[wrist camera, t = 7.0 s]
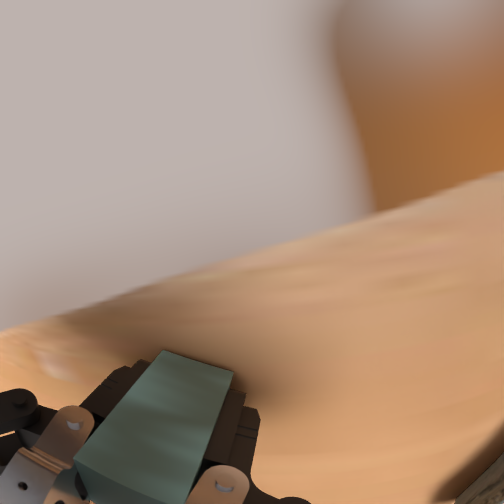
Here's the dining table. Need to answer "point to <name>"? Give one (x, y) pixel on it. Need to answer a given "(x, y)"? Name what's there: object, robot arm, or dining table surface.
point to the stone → (486, 486)
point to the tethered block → (155, 434)
